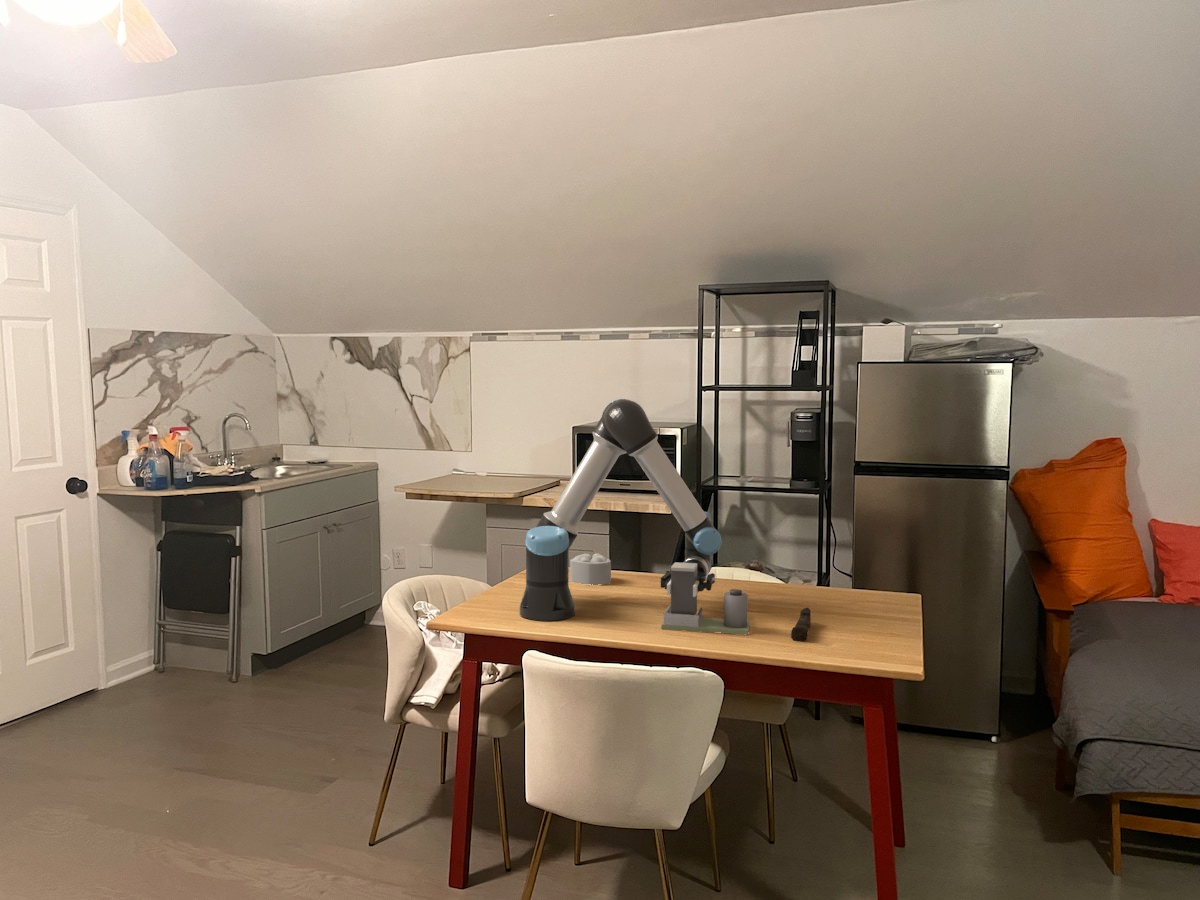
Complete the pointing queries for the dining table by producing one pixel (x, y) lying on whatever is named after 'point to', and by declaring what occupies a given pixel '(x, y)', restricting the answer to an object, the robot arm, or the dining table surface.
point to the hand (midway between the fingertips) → (681, 590)
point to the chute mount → (682, 618)
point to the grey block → (683, 588)
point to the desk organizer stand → (725, 616)
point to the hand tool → (802, 626)
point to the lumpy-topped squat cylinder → (590, 569)
